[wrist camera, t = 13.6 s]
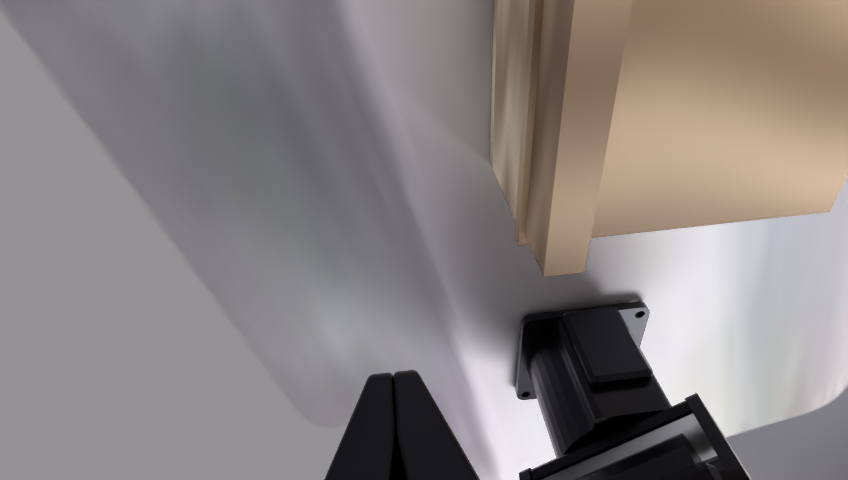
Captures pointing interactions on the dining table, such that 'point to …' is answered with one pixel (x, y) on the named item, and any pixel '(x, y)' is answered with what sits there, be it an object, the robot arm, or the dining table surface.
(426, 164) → the dining table surface
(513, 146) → the wooden box
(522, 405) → the dining table surface
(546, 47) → the lid
